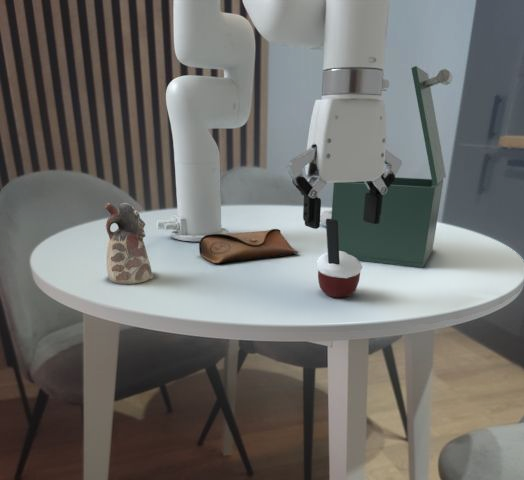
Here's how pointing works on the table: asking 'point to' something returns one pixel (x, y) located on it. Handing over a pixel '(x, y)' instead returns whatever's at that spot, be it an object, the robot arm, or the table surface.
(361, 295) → the table surface
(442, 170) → the bin lid
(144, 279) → the figurine
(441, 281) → the table surface
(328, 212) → the donut
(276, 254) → the sunglasses case
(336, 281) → the cocoa
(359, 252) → the trash bin
